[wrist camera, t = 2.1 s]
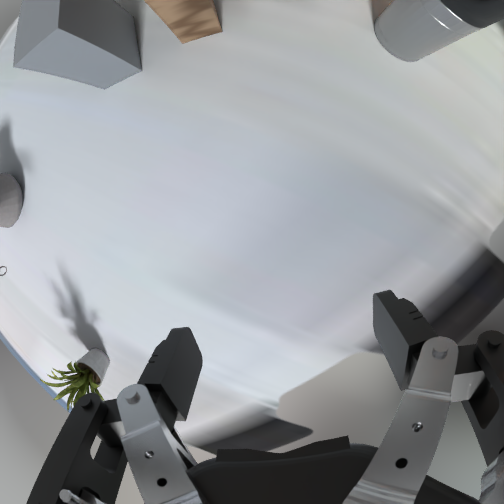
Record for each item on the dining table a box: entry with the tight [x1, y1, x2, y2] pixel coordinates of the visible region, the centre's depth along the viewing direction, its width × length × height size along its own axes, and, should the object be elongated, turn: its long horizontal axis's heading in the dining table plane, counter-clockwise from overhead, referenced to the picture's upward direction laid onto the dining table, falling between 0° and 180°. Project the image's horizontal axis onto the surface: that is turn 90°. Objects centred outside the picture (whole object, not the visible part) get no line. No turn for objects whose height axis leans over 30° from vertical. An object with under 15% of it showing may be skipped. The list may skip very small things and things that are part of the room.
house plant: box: [40, 348, 110, 410], centre depth 42 cm, size 14×14×16 cm
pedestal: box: [13, 0, 142, 89], centre depth 20 cm, size 7×12×20 cm, turn 14°
